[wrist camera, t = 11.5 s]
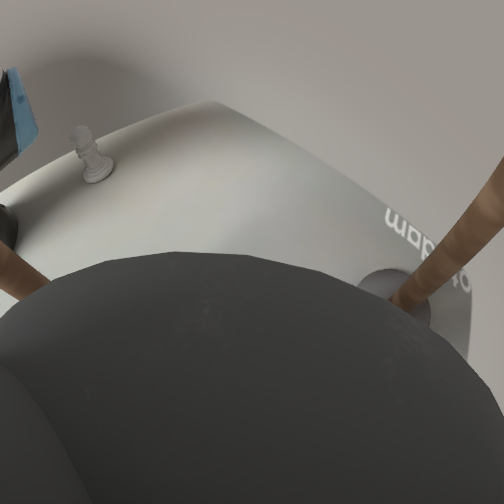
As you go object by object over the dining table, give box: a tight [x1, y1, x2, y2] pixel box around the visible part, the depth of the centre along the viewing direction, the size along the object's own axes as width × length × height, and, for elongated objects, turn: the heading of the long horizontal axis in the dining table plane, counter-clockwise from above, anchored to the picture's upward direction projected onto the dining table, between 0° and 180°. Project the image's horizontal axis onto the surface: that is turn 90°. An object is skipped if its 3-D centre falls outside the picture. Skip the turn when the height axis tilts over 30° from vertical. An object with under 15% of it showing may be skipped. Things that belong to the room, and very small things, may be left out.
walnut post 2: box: [358, 157, 504, 327], centre depth 16 cm, size 9×9×29 cm
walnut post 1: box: [0, 240, 51, 301], centre depth 16 cm, size 9×9×29 cm
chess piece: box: [70, 126, 113, 183], centre depth 37 cm, size 5×5×9 cm
